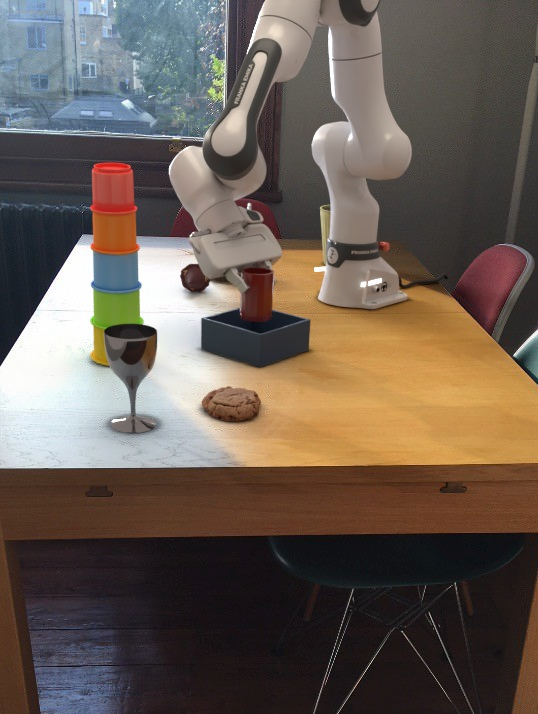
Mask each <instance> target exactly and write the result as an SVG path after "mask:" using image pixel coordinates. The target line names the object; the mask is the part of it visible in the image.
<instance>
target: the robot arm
mask: <svg viewBox="0 0 538 714" xmlns="http://www.w3.org/2000/svg"><path fill="white" fill-rule="evenodd" d="M380 3H381V0H264V2H263V4H262V7H261V9H260V11H259V14H258V17H257V20H256V24H255V26H254V29H253V33H252V36H251V39H250V43H249V46H248V49H247V52H246V55H245V57H244V59H243V61H242V64H241V66H240V69H239V70H238V74H237V76H236V78H235V81H234V84H233V86H232V89H231V91H230V93H229V96H228V98H227V101H226V104H225V106H224V108H223V110H222V111H221V113H220V114H219V115H218V117H217V118H216V119H215V120H214V121H213V122H212V124H211V125H210V126H209V128H208V129H207V130H206V132H205V134H204V137H203V140H202V145H201V146H196V145H190V146H187V147H184V148H183V149H182V150H180V151H179V152H177V154H176V155H175V156H174V158H173V160H172V161H171V163H170V165H169V168H168V175H169V180H170V183H171V186H172V188H173V190H174V192H175V194H176V196H177V198H178V200H179V201H180V203H181V205H182V207H183V208H184V210H186V211H187V212H188V213H189V215H190V216H191V218H192V220H193V224H194V227H195V228H196V230H197V231H193V232H191V233H190V235H189V237H188V242H189V245H190V246H191V248H192V251H193V255H194V257H195V260H196V262H197V264H199V266H200V268H201V270H202V272H203V274H204V275H205V276H206V277H208V278H209V279H214V278H218V277H222V276H225V277H226V278H227V280H228V281H229V282H231V283H232V284H231V285H233V286H235V287H236V288H237V290H238V292H239V294H240V293H246V292H248V291H249V290H250V289H251V286H250V285H249V283H248V281H247V280H243V279H242V278H241V277H240V276H239V275H238V274H237V273H240V272H241V270H242V269H244V268H249V267H261V268H268V269H271V270H273V266H274V265H275V264H276V263H277V262H278V261H279V260H280V259H281V258H282V256H283V249H282V247H281V245H280V243H279V242H278V240H277V238H276V237H275V235H274V234H273V232H272V231H271V229H270V228H269V227H268V226H267V225H266V224H264V223H263V222H264V219H265V218H264V217H263V215H262V214H261V212H260V211H257V210H253V209H252V210H248V209H247V208H245V207H242V206H240V205H237V203H236V201H239V200H241V199H244V198H246V197H248V196H250V195H252V194H253V193H255V192H257V191H258V190H259V189H260V188H261V187H262V186H263V184H264V182H265V181H266V177H267V173H268V168H267V167H268V166H267V161H266V159H265V157H264V155H263V152H262V150H261V148H260V145H259V141H258V133H257V130H258V129H257V128H258V122H259V119H260V117H261V114H262V112H263V109H264V107H265V104H266V102H267V99H268V96H269V94H270V91H271V89H272V87H273V85H274V84H275V83H285V82H288V81H290V80H292V79H294V78H296V77H297V76H298V75H299V73H300V71H301V69H302V68H303V66H304V64H305V62H306V59H307V57H308V54H309V53H310V49H311V46H312V43H313V40H314V37H315V33H316V29H317V27H321V28H323V27H324V28H325V27H326V28H328V61H329V75H330V88H331V90H330V91H331V97H332V99H333V101H334V103H336V105H337V106H338V107H339V108H340V109H341V110H342V112H343V113H344V114H345V116H346V119H347V121H344V120H343V121H342V120H341V121H333V122H329V123H325V124H323V125H321V126H320V127H319V128H318V129H317V130H316V131H315V133H314V136H313V139H312V142H311V155H312V158H313V160H314V162H315V164H316V165H317V166H318V167H319V169H320V170H321V172H322V175H323V176H324V179H325V180H324V181H325V182H326V183H325V184H326V186H327V190H328V195H329V201H330V205H331V215H330V234H329V238H328V239H327V248H326V256H327V263H326V265H325V266H319V267H318V266H317V267H316V266H315V267H314V272H324V273H323V279H322V283H321V287H320V290H319V293H318V295H317V299H318V300H319V301H320V302H322V303H324V304H328V305H331V306H335V307H342V308H343V307H344V308H355V309H357V308H358V309H366V310H376V309H380V308H384V307H387V306H390V305H394V304H397V303H401V302H405V301H408V299H409V296H408V294H407V293H405V292H404V291H402V290H400V289H403V290H404V289H408V288H411V287H412V286H415V285H425V284H427V285H428V284H435V283H438V282H440V281H442V279H443V278H444V279H445V280H449V276H448V274H446V273H445V272H442V273H441V274H440V275H438V277H436V278H432V279H430V278H429V279H419V280H413V281H410V282H408V283H406V284H403V280H402V278H401V276H400V275H399V273H398V272H397V271H396V270H395V269H394V268H393V267H392V266H391V265H390V264H389V263H388V262H387V261H386V260H385V259H384V258H383V257H382V253H381V251H383V252H388V251H389V250H390V246H391V245H390V243H389V242H385V241H380V242H379V241H378V240H377V239H378V230H379V221H380V205H379V203H378V201H377V200H376V199H375V197H374V196H373V195H372V194H371V191H370V190H369V185H367V184H368V181H367V182H366V178H367V180H374V181H387V180H388V181H389V180H395V179H396V180H397V179H398V178H400V177H402V176H403V175H404V174H405V172H406V171H407V170H408V168H409V166H410V164H411V160H412V156H413V150H412V149H413V148H412V143H411V140H410V138H409V136H408V135H407V134H406V133H405V132H404V131H403V130H402V129H401V128H400V126H399V125H398V123H397V121H396V119H395V118H394V115H393V113H392V111H391V109H390V106H389V103H388V99H387V96H386V89H385V83H384V81H385V80H384V68H383V65H384V64H383V47H382V46H383V45H382V35H381V34H382V33H381V25H380V21H379V16H378V8H379V6H380ZM276 283H277V278H276V276H274V285H275V284H276Z"/></svg>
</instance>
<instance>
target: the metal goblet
mask: <svg viewBox="0 0 538 714" xmlns="http://www.w3.org/2000/svg"><path fill="white" fill-rule="evenodd" d="M104 344H105V352H106V357H107V360H108V364H109V366H108V367H109V368H110V370H111V371H112V373H113V374H114V375H115V376H116V377H117V378H118V379H119V380H120V381H121V382H122V383H123V385H125V387H126V389H127V393H128V398H129V406H130V415H123V416H119V417H117V418H115V419H113V420H112V421H111V422H110V427H111V428H112V429H113V430H115V431H117V432H121V433H125V434H138V433H139V434H140V433H145V432H148V431H151V430H153V429H155V427H156V426H157V421H156V420H154V418H151V417H149V416H146V415H138V414H137V412H136V406H137V405H136V404H137V403H136V402H137V392H138V389H139V386H140V385H141V383H142V382H143V381H144V380H145V379H146V378H147V376H148V375H149V374H150V373H151V371H152V370H153V368H154V366H155V362H156V359H157V358H156V357H157V354H158V353H157V352H158V329H156V328H155V327H153V326H151V325H147V324H143V325H142V324H119V325H114V326H110V327H108V328H106V329H105V330H104Z"/></svg>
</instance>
